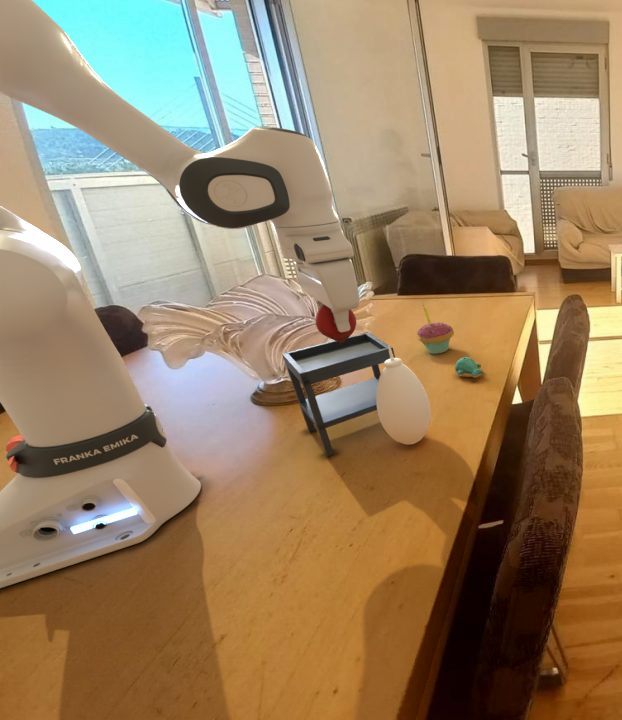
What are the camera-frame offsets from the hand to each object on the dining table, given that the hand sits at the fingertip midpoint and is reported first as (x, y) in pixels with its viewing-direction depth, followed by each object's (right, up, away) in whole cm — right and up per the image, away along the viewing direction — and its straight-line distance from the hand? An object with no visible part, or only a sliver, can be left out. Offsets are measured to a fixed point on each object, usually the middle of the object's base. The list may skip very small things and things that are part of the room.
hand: (337, 325), depth 80 cm
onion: (0, -3, +1) cm, 3 cm away
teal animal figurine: (+14, -9, +26) cm, 31 cm away
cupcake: (+1, -3, +41) cm, 41 cm away
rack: (0, -18, +7) cm, 19 cm away
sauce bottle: (+12, -20, +2) cm, 23 cm away
